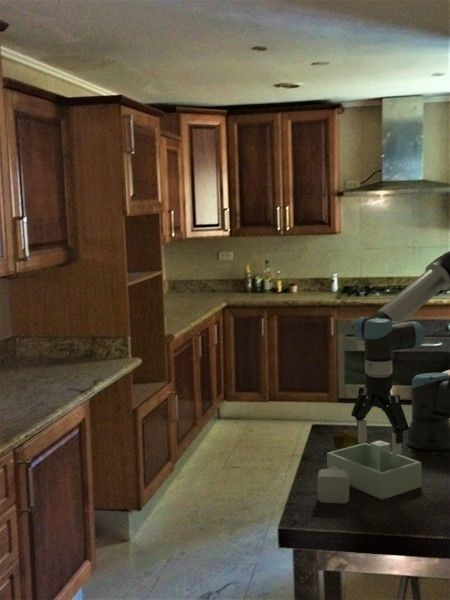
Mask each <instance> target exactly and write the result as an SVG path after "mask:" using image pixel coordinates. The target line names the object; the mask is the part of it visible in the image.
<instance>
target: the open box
mask: <svg viewBox="0 0 450 600" xmlns="http://www.w3.org/2000/svg"><path fill="white" fill-rule="evenodd" d="M390 460H391V470H388V471H385V472H379V471H377V470H374V469H372V468H370V444H368V443H362V444H358V445H355V446H351V447H347V448H343V449H339V450H338V449H335V450H332V451H329V452H326V469H330V468H331V467H333V466H335V467H337V468H338V469H339V470H346V471H347V472H348V473H349V487H351V488H354V489H355V490H358V491H360V492H363V493H365V494H367V495H370V496H372V497H375V498H377V499H379V500H386V499H389V498H392V497H394V496H398V495H400V494H404V493H407V492H410V491H414V490H417V489H419V488H421V487H422V462H421V461H419V460H416V459H413V458H410V457H407V456H404V455H402V454H398V455H395V456H394V455H392V451H390Z"/></svg>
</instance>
